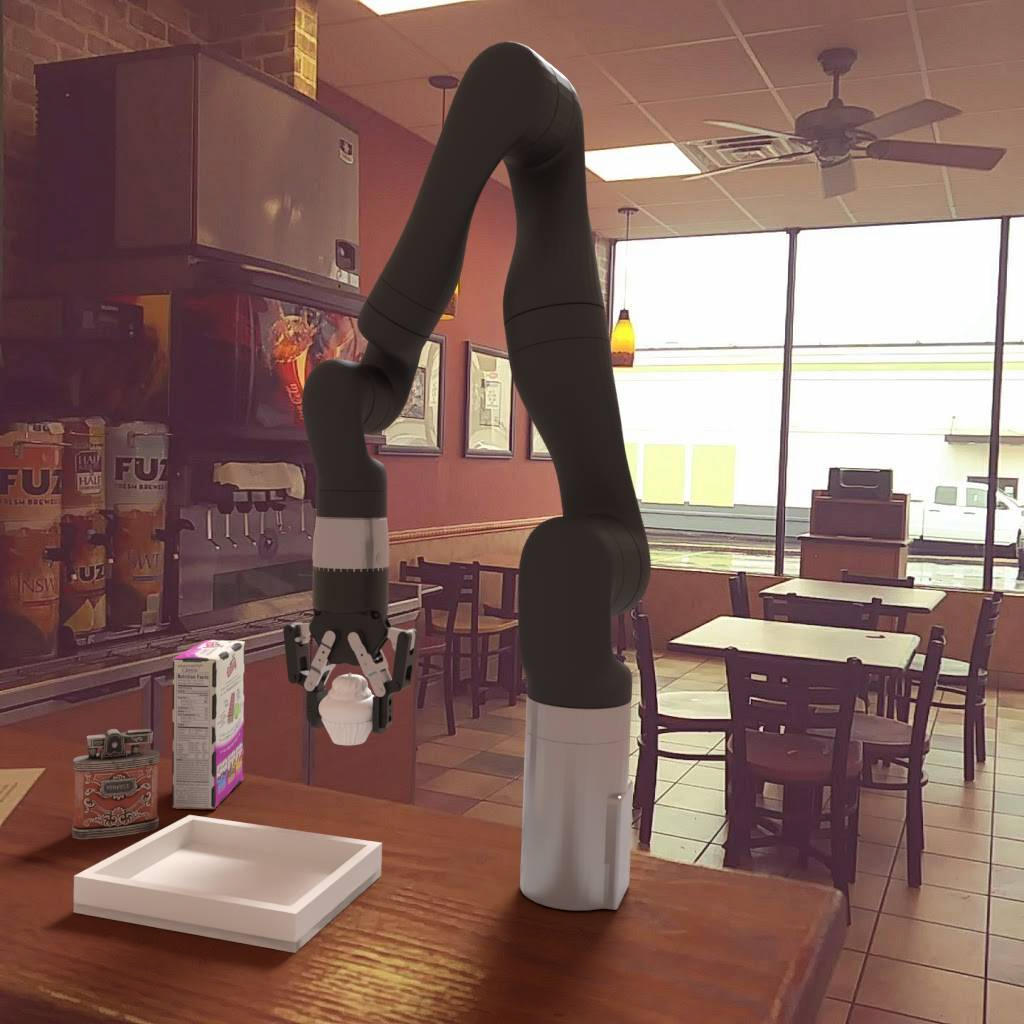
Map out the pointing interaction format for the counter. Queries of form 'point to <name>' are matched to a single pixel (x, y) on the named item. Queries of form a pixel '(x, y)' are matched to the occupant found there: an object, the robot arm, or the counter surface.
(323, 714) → the muffin
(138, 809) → the lighter
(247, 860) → the tray
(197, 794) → the candy bar box
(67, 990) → the counter surface
